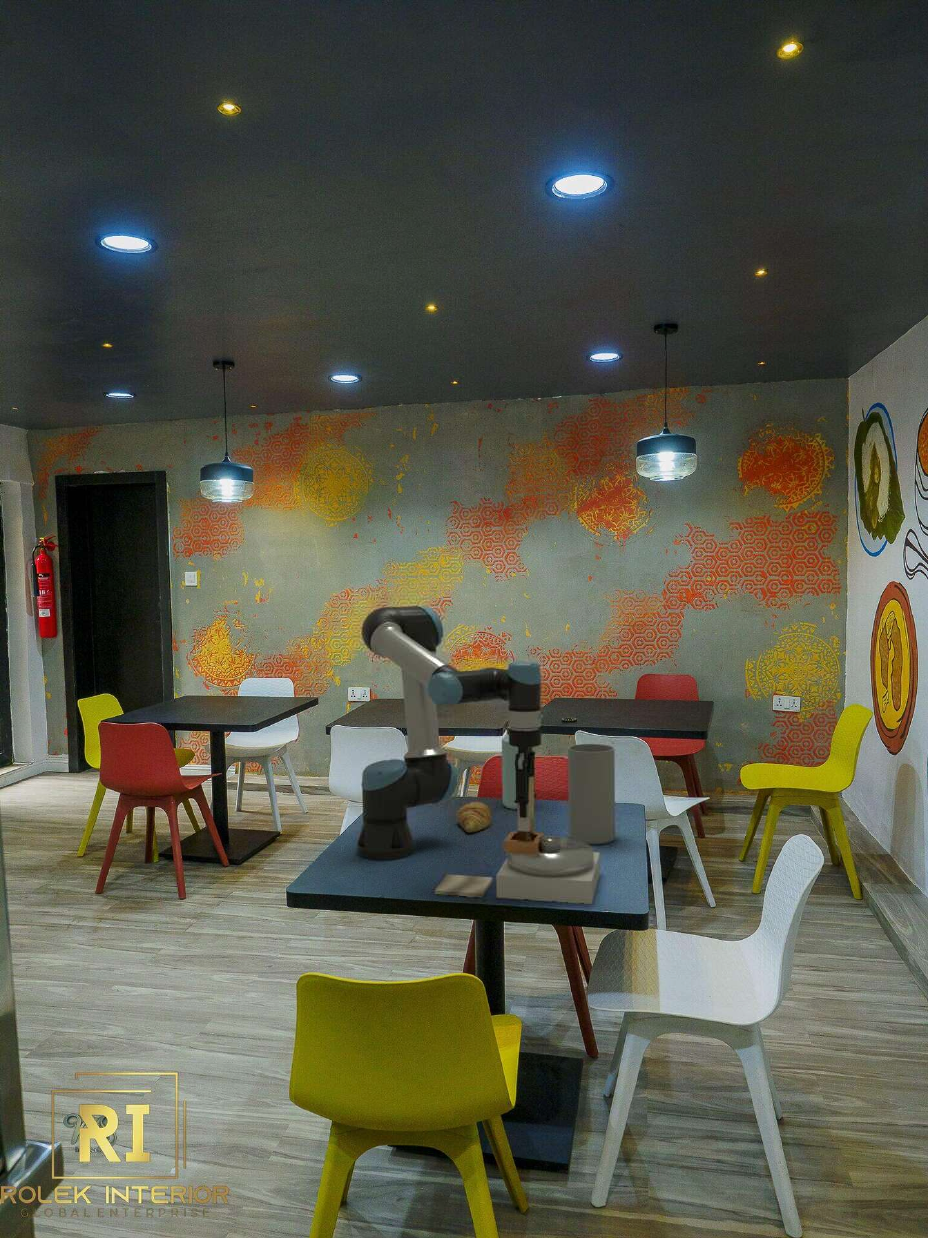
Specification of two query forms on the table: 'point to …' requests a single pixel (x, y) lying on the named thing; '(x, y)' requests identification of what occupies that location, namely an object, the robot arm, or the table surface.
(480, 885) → the birch pad
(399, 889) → the table surface
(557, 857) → the silver metal disc
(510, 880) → the beige square block
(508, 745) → the water bottle
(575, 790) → the cylinder vase
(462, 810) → the croissant
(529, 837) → the brass capsule
